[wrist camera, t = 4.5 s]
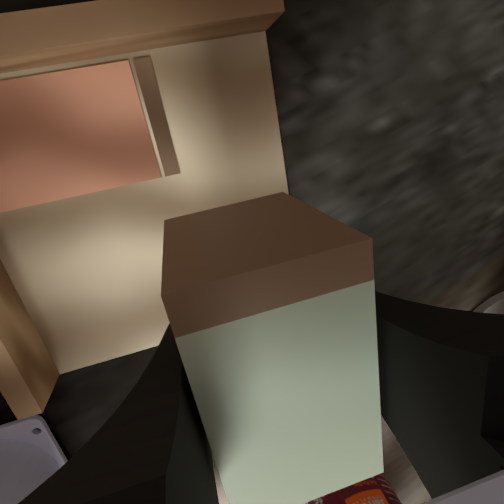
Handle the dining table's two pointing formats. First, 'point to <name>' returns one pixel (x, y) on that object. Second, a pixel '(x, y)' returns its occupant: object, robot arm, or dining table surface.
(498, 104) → the dining table surface
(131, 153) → the corner arena
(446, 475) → the robot arm
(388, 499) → the pill bottle
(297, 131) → the dining table surface
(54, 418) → the dining table surface
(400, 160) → the dining table surface
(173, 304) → the sage block
